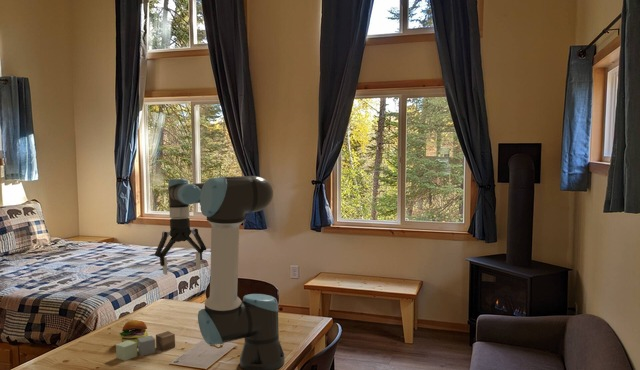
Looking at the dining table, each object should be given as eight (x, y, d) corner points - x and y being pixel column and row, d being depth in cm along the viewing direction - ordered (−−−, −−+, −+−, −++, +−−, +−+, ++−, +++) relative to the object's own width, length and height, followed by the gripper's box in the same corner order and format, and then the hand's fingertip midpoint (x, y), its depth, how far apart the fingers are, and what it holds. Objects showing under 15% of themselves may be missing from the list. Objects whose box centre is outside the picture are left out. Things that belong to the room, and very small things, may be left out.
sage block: (137, 356, 173) (136, 342, 173) (125, 361, 169) (124, 347, 169) (128, 353, 176) (128, 339, 176) (116, 358, 172) (115, 344, 172)
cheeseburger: (118, 350, 178) (117, 322, 180) (122, 347, 189) (121, 320, 190) (147, 346, 181) (146, 319, 183) (149, 343, 191) (148, 317, 193)
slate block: (155, 352, 176) (154, 339, 176) (141, 356, 173) (140, 342, 173) (152, 348, 180) (151, 335, 180) (138, 351, 178) (137, 338, 177)
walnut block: (175, 347, 181) (174, 334, 181) (162, 351, 177) (162, 337, 177) (168, 343, 184) (167, 331, 184) (156, 347, 181) (155, 334, 181)
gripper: (205, 214, 201) (207, 265, 201) (144, 220, 185) (147, 274, 186) (213, 215, 195) (215, 267, 195) (151, 221, 180) (153, 277, 180)
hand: (182, 271), depth 191 cm, fingers open, 13 cm apart
